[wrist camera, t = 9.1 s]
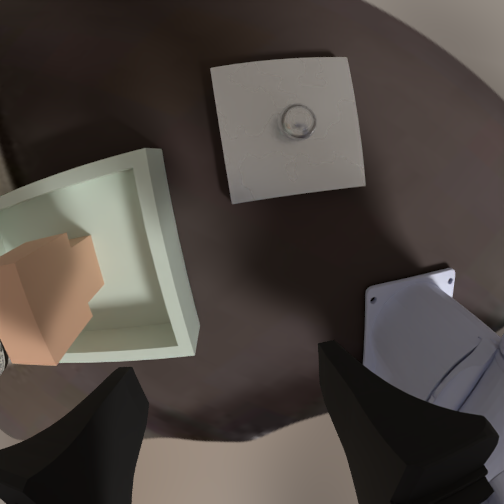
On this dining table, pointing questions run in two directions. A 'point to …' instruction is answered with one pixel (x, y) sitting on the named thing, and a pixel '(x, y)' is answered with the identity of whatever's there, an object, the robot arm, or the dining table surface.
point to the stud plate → (288, 127)
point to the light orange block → (46, 297)
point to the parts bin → (116, 253)
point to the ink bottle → (3, 357)
